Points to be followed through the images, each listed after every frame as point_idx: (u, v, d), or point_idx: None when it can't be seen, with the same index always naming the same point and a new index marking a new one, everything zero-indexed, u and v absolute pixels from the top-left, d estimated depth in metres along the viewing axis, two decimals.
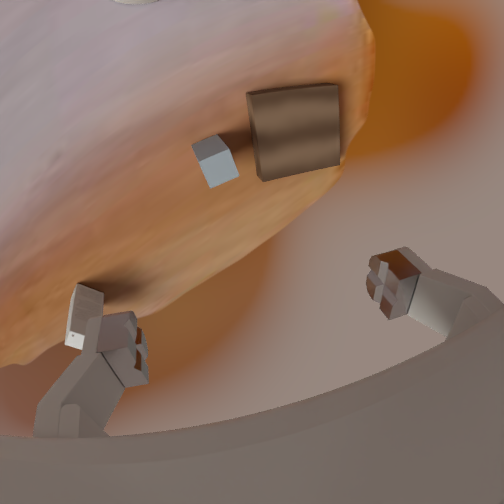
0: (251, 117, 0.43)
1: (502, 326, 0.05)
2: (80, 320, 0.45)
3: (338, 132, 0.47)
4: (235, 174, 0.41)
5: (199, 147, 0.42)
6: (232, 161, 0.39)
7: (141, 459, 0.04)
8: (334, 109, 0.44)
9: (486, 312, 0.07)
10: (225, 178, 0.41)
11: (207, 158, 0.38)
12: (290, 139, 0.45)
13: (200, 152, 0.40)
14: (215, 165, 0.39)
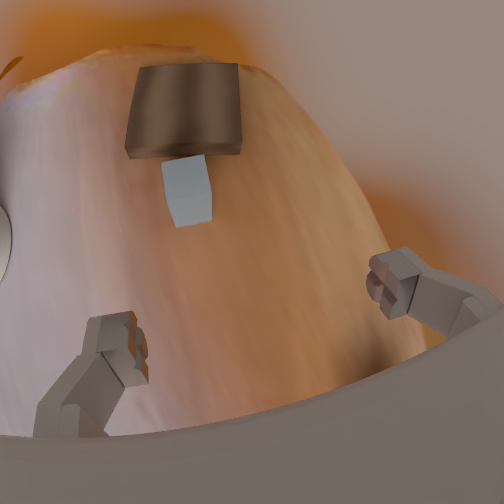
0: (156, 151, 0.35)
1: (502, 326, 0.05)
2: None
3: (195, 64, 0.37)
4: (200, 158, 0.28)
5: None
6: (179, 160, 0.28)
7: (141, 460, 0.04)
8: (166, 68, 0.36)
9: (486, 312, 0.07)
10: (202, 171, 0.28)
11: (166, 190, 0.27)
12: (190, 108, 0.35)
13: None
14: (178, 182, 0.28)
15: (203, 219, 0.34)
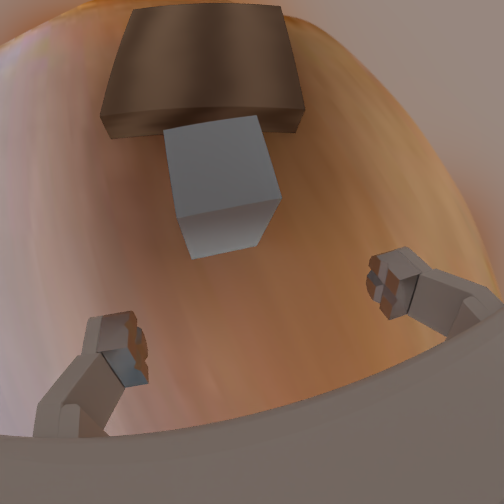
0: (155, 124, 0.20)
1: (502, 326, 0.05)
2: None
3: (217, 4, 0.22)
4: (249, 123, 0.13)
5: None
6: (205, 125, 0.13)
7: (141, 459, 0.04)
8: (173, 9, 0.21)
9: (486, 312, 0.07)
10: (256, 149, 0.13)
11: (175, 190, 0.12)
12: (213, 57, 0.20)
13: None
14: (203, 171, 0.12)
15: (243, 245, 0.19)
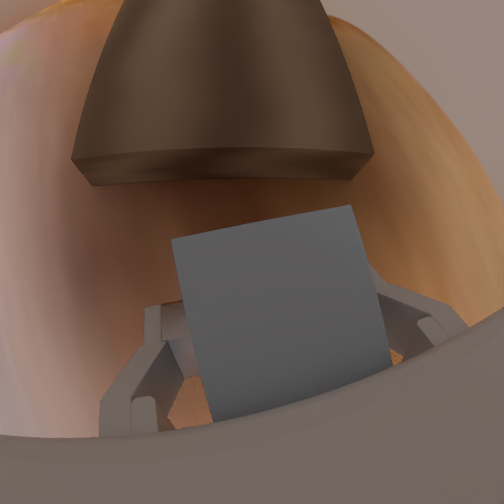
0: (154, 169, 0.14)
1: (502, 326, 0.05)
2: None
3: None
4: (340, 223, 0.07)
5: None
6: (257, 229, 0.07)
7: (141, 459, 0.04)
8: None
9: (443, 336, 0.06)
10: (356, 284, 0.07)
11: (207, 381, 0.06)
12: (239, 65, 0.14)
13: None
14: (260, 339, 0.06)
15: None
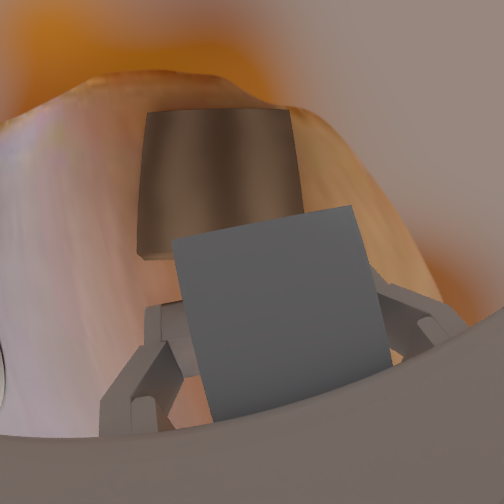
0: None
1: (502, 326, 0.05)
2: None
3: (229, 110, 0.28)
4: (340, 224, 0.07)
5: None
6: (257, 230, 0.07)
7: (141, 459, 0.04)
8: (187, 116, 0.27)
9: (443, 336, 0.06)
10: (356, 285, 0.07)
11: (207, 382, 0.06)
12: (230, 188, 0.26)
13: None
14: (261, 340, 0.06)
15: None
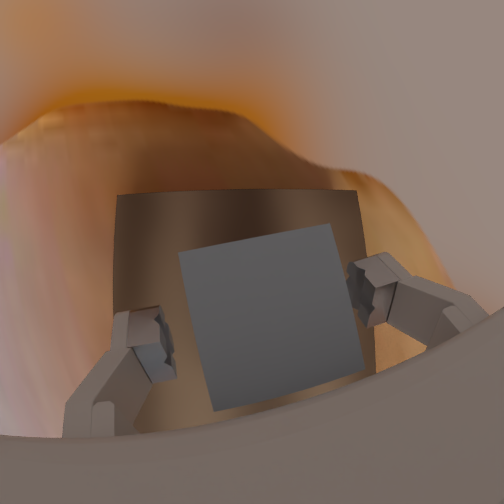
0: None
1: (502, 326, 0.05)
2: None
3: (259, 192, 0.17)
4: (320, 239, 0.08)
5: None
6: (249, 245, 0.08)
7: (141, 459, 0.04)
8: (186, 205, 0.17)
9: (467, 323, 0.07)
10: (332, 291, 0.08)
11: (207, 368, 0.07)
12: None
13: None
14: (251, 335, 0.08)
15: None
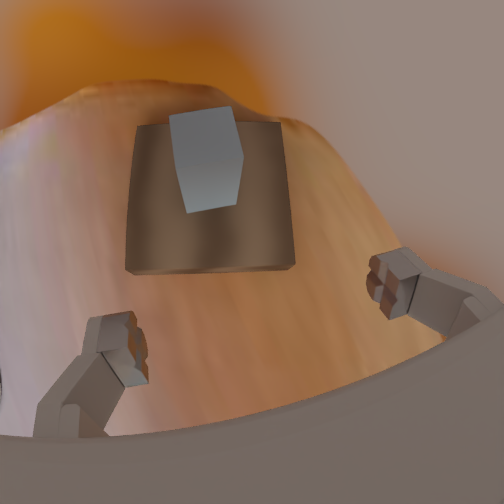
0: (172, 271, 0.26)
1: (502, 326, 0.05)
2: None
3: None
4: (225, 111, 0.19)
5: None
6: (196, 112, 0.19)
7: (141, 460, 0.04)
8: None
9: (486, 312, 0.07)
10: (229, 127, 0.19)
11: (175, 152, 0.18)
12: None
13: None
14: (193, 141, 0.18)
15: (225, 201, 0.25)
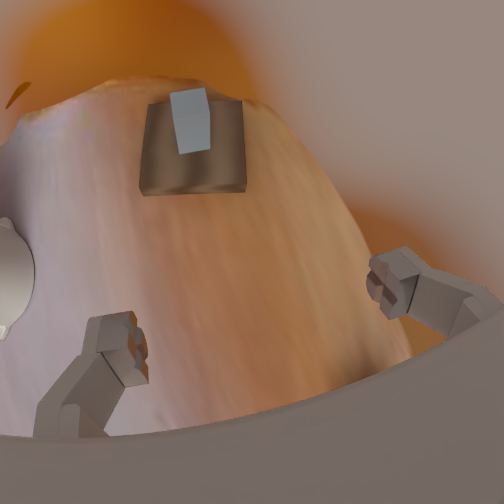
0: (168, 191, 0.40)
1: (502, 326, 0.05)
2: None
3: None
4: (201, 90, 0.33)
5: None
6: (185, 91, 0.33)
7: (141, 460, 0.04)
8: None
9: (486, 312, 0.07)
10: (202, 98, 0.33)
11: (173, 111, 0.32)
12: None
13: None
14: (183, 105, 0.32)
15: (202, 146, 0.39)
